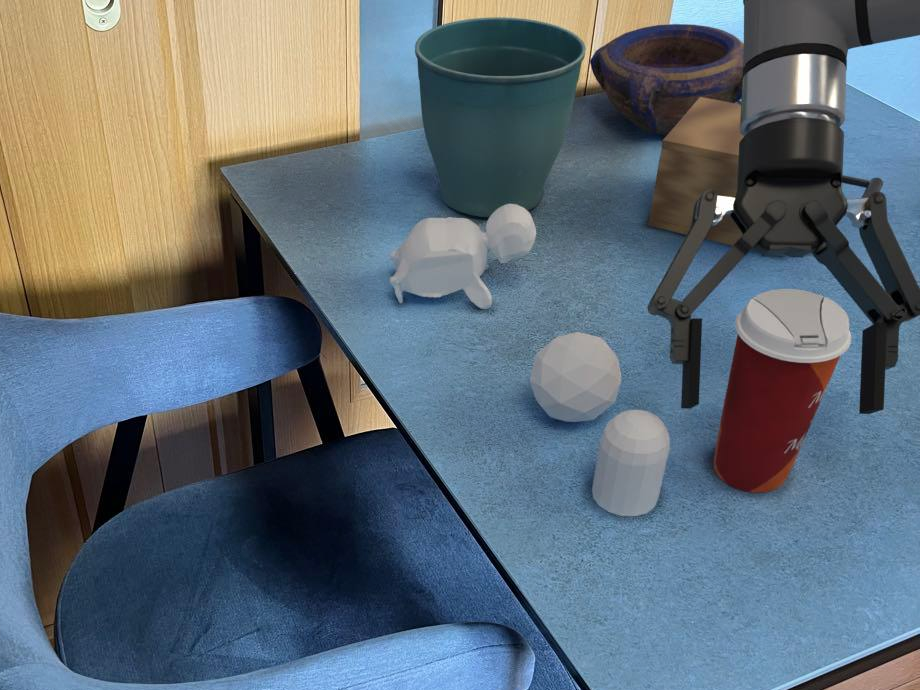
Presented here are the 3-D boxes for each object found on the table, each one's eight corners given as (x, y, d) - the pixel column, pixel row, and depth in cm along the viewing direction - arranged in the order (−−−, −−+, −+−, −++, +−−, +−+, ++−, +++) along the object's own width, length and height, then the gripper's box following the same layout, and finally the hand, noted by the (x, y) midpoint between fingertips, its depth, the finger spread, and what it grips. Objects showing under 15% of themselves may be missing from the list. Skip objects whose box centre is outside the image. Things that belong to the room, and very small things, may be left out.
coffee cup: (814, 501, 83) (873, 344, 72) (712, 503, 83) (756, 347, 72) (784, 435, 89) (835, 281, 78) (689, 437, 89) (726, 284, 78)
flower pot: (440, 153, 129) (443, 8, 117) (582, 172, 125) (600, 24, 113) (393, 220, 117) (392, 66, 105) (549, 243, 113) (565, 85, 101)
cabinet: (809, 206, 118) (834, 121, 111) (780, 257, 110) (805, 169, 103) (683, 179, 123) (700, 96, 116) (647, 225, 115) (662, 139, 109)
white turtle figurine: (411, 335, 106) (552, 287, 102) (379, 267, 101) (527, 213, 96) (410, 291, 112) (544, 244, 108) (380, 224, 107) (520, 172, 102)
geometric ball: (582, 448, 92) (603, 426, 84) (506, 402, 93) (520, 375, 85) (625, 379, 93) (650, 351, 85) (550, 333, 94) (567, 301, 86)
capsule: (672, 501, 83) (691, 423, 78) (620, 525, 81) (636, 447, 76) (628, 464, 87) (644, 387, 81) (578, 486, 85) (590, 409, 79)
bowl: (574, 101, 140) (583, 23, 133) (700, 89, 142) (715, 12, 135) (620, 158, 128) (632, 75, 121) (756, 144, 130) (776, 62, 123)
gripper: (936, 153, 82) (925, 420, 82) (618, 149, 84) (608, 410, 84) (984, 114, 74) (973, 407, 74) (634, 110, 76) (623, 397, 76)
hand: (779, 409), depth 79 cm, fingers open, 13 cm apart
